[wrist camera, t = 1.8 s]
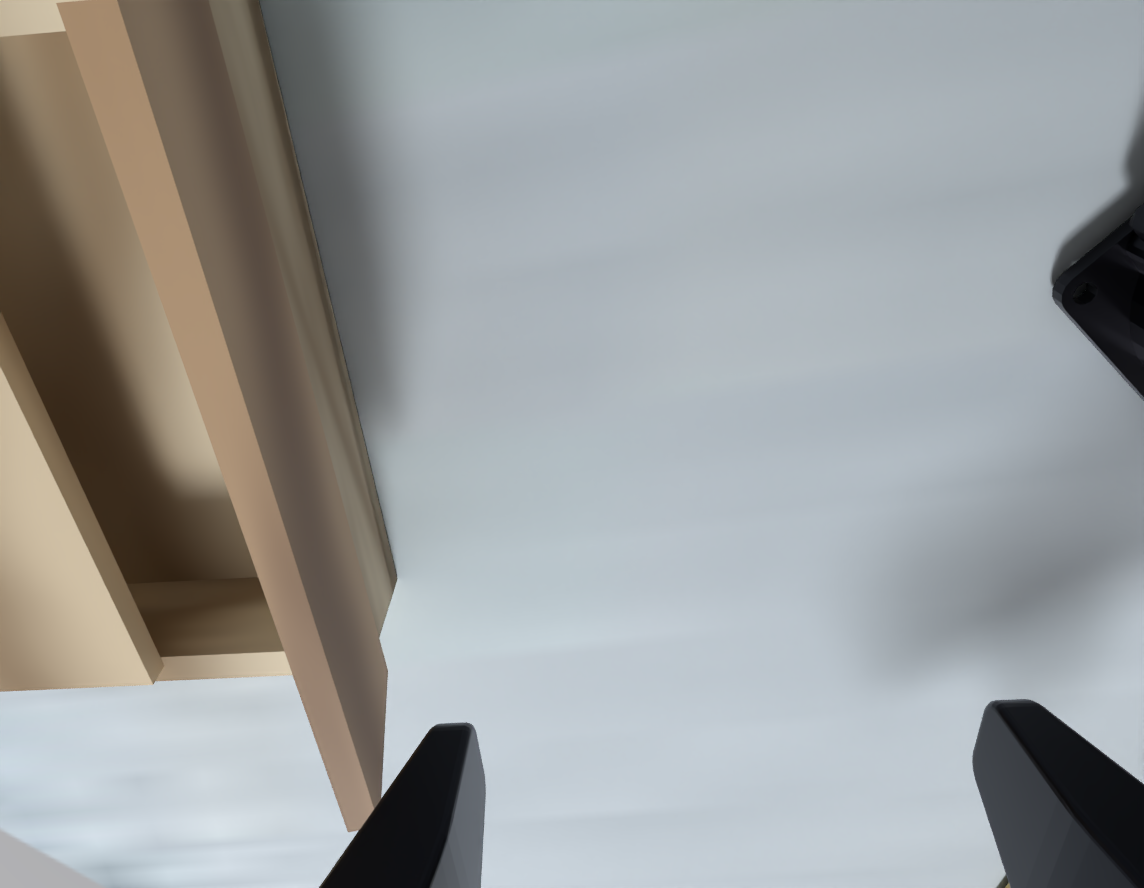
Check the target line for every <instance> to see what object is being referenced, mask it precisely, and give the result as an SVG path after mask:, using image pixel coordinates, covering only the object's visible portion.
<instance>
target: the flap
mask: <svg viewBox="0 0 1144 888" xmlns="http://www.w3.org/2000/svg"><path fill="white" fill-rule="evenodd" d="M56 4H57V7H58V10H59V13H60V16H61V18H62V21H63V24H64V27H65V30H66V33H67V35H68V38H69V41H70V44H71V47H72V50H73V53H74V55H75V58H76V61H77V64H78V67H79V70H80V72H81V75H82V78H83V81H84V84H85V87H86V89H87V92H88V95H89V98H90V101H91V104H92V106H93V109H94V112H95V115H96V118H97V121H98V123H99V126H100V129H101V132H102V135H103V138H104V141H105V143H106V146H107V149H108V152H109V155H110V158H111V160H112V163H113V166H114V169H115V172H116V175H117V177H118V180H119V183H120V186H121V189H122V192H123V194H124V197H125V200H126V203H127V206H128V209H129V212H130V214H131V217H132V220H133V223H134V226H135V229H136V231H137V234H138V237H139V240H140V243H141V246H142V248H143V251H144V254H145V257H146V260H147V263H148V265H149V268H150V271H151V274H152V277H153V280H154V282H155V285H156V288H157V291H158V294H159V297H160V300H161V302H162V305H163V308H164V311H165V314H166V317H167V319H168V322H169V325H170V328H171V331H172V334H173V336H174V339H175V342H176V345H177V348H178V351H179V353H180V356H181V359H182V362H183V365H184V368H185V371H186V373H187V376H188V379H189V382H190V385H191V388H192V390H193V393H194V396H195V399H196V402H197V405H198V407H199V410H200V413H201V416H202V419H203V422H204V424H205V427H206V430H207V433H208V436H209V439H210V441H211V444H212V447H213V450H214V453H215V456H216V459H217V461H218V464H219V467H220V470H221V473H222V476H223V478H224V481H225V484H226V487H227V490H228V493H229V495H230V498H231V501H232V504H233V507H234V510H235V512H236V515H237V518H238V521H239V524H240V527H241V530H242V532H243V535H244V538H245V541H246V544H247V547H248V549H249V552H250V555H251V558H252V561H253V564H254V566H255V569H256V572H257V575H258V578H259V581H260V583H261V586H262V589H263V592H264V595H265V598H266V600H267V603H268V606H269V609H270V612H271V615H272V618H273V620H274V623H275V626H276V629H277V632H278V635H279V637H280V640H281V643H282V646H283V649H284V652H285V654H286V657H287V660H288V663H289V666H290V669H291V671H292V674H293V677H294V680H295V683H296V686H297V688H298V691H299V694H300V697H301V700H302V703H303V706H304V708H305V711H306V714H307V717H308V720H309V723H310V725H311V728H312V731H313V734H314V737H315V740H316V742H317V745H318V748H319V751H320V754H321V757H322V759H323V762H324V765H325V768H326V771H327V774H328V777H329V779H330V782H331V785H332V788H333V791H334V794H335V796H336V799H337V802H338V805H339V808H340V811H341V813H342V816H343V819H344V822H345V825H346V828H347V830H348V832H352V831H357V830H360V829H361V827H362V826H363V824H364V823H365V821H366V820H367V819H368V817H369V816H370V814H371V813H372V811H373V810H374V809H375V807H376V806H377V804H378V803H379V801H380V800H381V790H382V771H383V752H384V733H385V714H386V696H387V677H388V670H387V666H386V662H385V658H384V655H383V651H382V647H381V643H380V640H379V636H378V632H377V628H376V625H375V621H374V617H373V614H372V610H371V606H370V602H369V599H368V595H367V591H366V587H365V584H364V580H363V576H362V572H361V569H360V565H359V561H358V557H357V554H356V550H355V546H354V542H353V539H352V535H351V531H350V527H349V524H348V520H347V516H346V513H345V509H344V505H343V501H342V498H341V494H340V490H339V486H338V483H337V479H336V475H335V471H334V468H333V464H332V460H331V456H330V453H329V449H328V445H327V441H326V438H325V434H324V430H323V426H322V423H321V419H320V415H319V412H318V408H317V404H316V400H315V397H314V393H313V389H312V385H311V382H310V378H309V374H308V370H307V367H306V363H305V359H304V355H303V352H302V348H301V344H300V340H299V337H298V333H297V329H296V326H295V322H294V318H293V314H292V311H291V307H290V303H289V299H288V296H287V292H286V288H285V284H284V281H283V277H282V273H281V269H280V266H279V262H278V258H277V254H276V251H275V247H274V243H273V239H272V236H271V232H270V228H269V225H268V221H267V217H266V213H265V210H264V206H263V202H262V198H261V195H260V191H259V187H258V183H257V180H256V176H255V172H254V168H253V165H252V161H251V157H250V153H249V150H248V146H247V142H246V138H245V135H244V131H243V127H242V124H241V120H240V116H239V112H238V109H237V105H236V101H235V97H234V94H233V90H232V86H231V82H230V79H229V75H228V71H227V67H226V64H225V60H224V56H223V52H222V49H221V45H220V41H219V37H218V34H217V30H216V26H215V23H214V19H213V15H212V11H211V8H210V4H209V0H84V1H72V2H61V3H56Z"/></svg>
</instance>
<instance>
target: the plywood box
mask: <svg viewBox="0 0 1144 888" xmlns="http://www.w3.org/2000/svg"><path fill="white" fill-rule="evenodd" d="M72 1H84V0H0V692H1V691H24V690H46V689H69V688H91V687H114V686H136V685H153V684H154V682H155V681H172V680H194V679H217V678H239V677H261V676H284V675H293V674H292V671H291V669H290V666H289V663H288V660H287V657H286V654H285V652H284V649H283V646H282V643H281V640H280V637H279V635H278V632H277V629H276V626H275V623H274V620H273V618H272V615H271V612H270V609H269V606H268V603H267V600H266V598H265V595H264V592H263V589H262V586H261V583H260V581H259V578H258V575H257V572H256V569H255V566H254V564H253V561H252V558H251V555H250V552H249V549H248V547H247V544H246V541H245V538H244V535H243V532H242V530H241V527H240V524H239V521H238V518H237V515H236V512H235V510H234V507H233V504H232V501H231V498H230V495H229V493H228V490H227V487H226V484H225V481H224V478H223V476H222V473H221V470H220V467H219V464H218V461H217V459H216V456H215V453H214V450H213V447H212V444H211V441H210V439H209V436H208V433H207V430H206V427H205V424H204V422H203V419H202V416H201V413H200V410H199V407H198V405H197V402H196V399H195V396H194V393H193V390H192V388H191V385H190V382H189V379H188V376H187V373H186V371H185V368H184V365H183V362H182V359H181V356H180V353H179V351H178V348H177V345H176V342H175V339H174V336H173V334H172V331H171V328H170V325H169V322H168V319H167V317H166V314H165V311H164V308H163V305H162V302H161V300H160V297H159V294H158V291H157V288H156V285H155V282H154V280H153V277H152V274H151V271H150V268H149V265H148V263H147V260H146V257H145V254H144V251H143V248H142V246H141V243H140V240H139V237H138V234H137V231H136V229H135V226H134V223H133V220H132V217H131V214H130V212H129V209H128V206H127V203H126V200H125V197H124V194H123V192H122V189H121V186H120V183H119V180H118V177H117V175H116V172H115V169H114V166H113V163H112V160H111V158H110V155H109V152H108V149H107V146H106V143H105V141H104V138H103V135H102V132H101V129H100V126H99V123H98V121H97V118H96V115H95V112H94V109H93V106H92V104H91V101H90V98H89V95H88V92H87V89H86V87H85V84H84V81H83V78H82V75H81V72H80V70H79V67H78V64H77V61H76V58H75V55H74V53H73V50H72V47H71V44H70V41H69V38H68V35H67V33H66V30H65V27H64V24H63V21H62V18H61V16H60V13H59V10H58V7H57V4H56V3H61V2H72ZM209 4H210V8H211V11H212V15H213V19H214V23H215V26H216V30H217V34H218V37H219V41H220V45H221V49H222V52H223V56H224V60H225V64H226V67H227V71H228V75H229V79H230V82H231V86H232V90H233V94H234V97H235V101H236V105H237V109H238V112H239V116H240V120H241V124H242V127H243V131H244V135H245V138H246V142H247V146H248V150H249V153H250V157H251V161H252V165H253V168H254V172H255V176H256V180H257V183H258V187H259V191H260V195H261V198H262V202H263V206H264V210H265V213H266V217H267V221H268V225H269V228H270V232H271V236H272V239H273V243H274V247H275V251H276V254H277V258H278V262H279V266H280V269H281V273H282V277H283V281H284V284H285V288H286V292H287V296H288V299H289V303H290V307H291V311H292V314H293V318H294V322H295V326H296V329H297V333H298V337H299V340H300V344H301V348H302V352H303V355H304V359H305V363H306V367H307V370H308V374H309V378H310V382H311V385H312V389H313V393H314V397H315V400H316V404H317V408H318V412H319V415H320V419H321V423H322V426H323V430H324V434H325V438H326V441H327V445H328V449H329V453H330V456H331V460H332V464H333V468H334V471H335V475H336V479H337V483H338V486H339V490H340V494H341V498H342V501H343V505H344V509H345V513H346V516H347V520H348V524H349V527H350V531H351V535H352V539H353V542H354V546H355V550H356V554H357V557H358V561H359V565H360V569H361V572H362V576H363V580H364V584H365V587H366V591H367V595H368V599H369V602H370V606H371V610H372V614H373V617H374V621H375V625H376V628H377V632H378V636H379V637H380V633H381V630H382V627H383V624H384V620H385V617H386V614H387V611H388V608H389V604H390V601H391V598H392V595H393V592H394V588H395V585H396V582H397V575H396V571H395V567H394V563H393V559H392V554H391V550H390V546H389V542H388V538H387V534H386V529H385V525H384V521H383V517H382V513H381V509H380V504H379V500H378V496H377V492H376V488H375V484H374V479H373V475H372V471H371V467H370V463H369V458H368V454H367V450H366V446H365V442H364V438H363V433H362V429H361V425H360V421H359V417H358V413H357V408H356V404H355V400H354V396H353V392H352V388H351V383H350V379H349V375H348V371H347V367H346V362H345V358H344V354H343V350H342V346H341V342H340V337H339V333H338V329H337V325H336V321H335V317H334V312H333V308H332V304H331V300H330V296H329V292H328V287H327V283H326V279H325V275H324V271H323V266H322V262H321V258H320V254H319V250H318V246H317V241H316V237H315V233H314V229H313V225H312V221H311V216H310V212H309V208H308V204H307V200H306V196H305V191H304V187H303V183H302V179H301V175H300V171H299V166H298V162H297V158H296V154H295V150H294V145H293V141H292V137H291V133H290V129H289V125H288V120H287V116H286V112H285V108H284V104H283V100H282V95H281V91H280V87H279V83H278V79H277V75H276V70H275V66H274V62H273V58H272V54H271V49H270V45H269V41H268V37H267V33H266V29H265V24H264V20H263V16H262V12H261V8H260V4H259V0H209Z"/></svg>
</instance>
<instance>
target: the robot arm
mask: <svg viewBox="0 0 1144 888" xmlns="http://www.w3.org/2000/svg"><path fill="white" fill-rule="evenodd" d="M1083 283H1088V285H1087V289H1086V291H1085V292H1084V293H1083V294H1082V295H1080V296H1079V297H1077V298H1073V294H1074V291H1075V290H1076V289H1077V287H1078V286H1080V285H1082V284H1083ZM1052 297H1053V299H1054V301H1055V303H1056V304H1057V305H1058V307H1059V308H1060V309H1061V310H1062V311H1063V312H1064V313H1065V314H1066V315H1067V317H1068V318H1069V319H1070V320H1071V321H1072V322H1073V323H1074V324H1075V325H1076V326H1077V328H1078V329H1079V330H1080V331H1081V332H1082V333H1083V334H1084V335H1085V336H1086V338H1087V339H1088V340H1089V341H1090V342H1091V343H1092V344H1093V345H1094V346H1095V348H1096V349H1097V350H1098V351H1099V352H1100V353H1101V354H1102V355H1103V356H1104V357H1105V359H1106V360H1107V361H1108V362H1109V363H1110V364H1111V365H1112V366H1113V367H1114V369H1115V370H1116V371H1117V372H1118V373H1119V374H1120V375H1121V376H1122V377H1123V378H1124V380H1125V381H1126V382H1127V383H1128V384H1129V385H1130V386H1131V387H1132V388H1133V390H1134V391H1135V392H1136V393H1137V394H1138V395H1139V396H1140V397H1141V398H1142V399H1143V401H1144V204H1142V205H1141V206H1140V207H1139V208H1138V209H1136V211H1135V212H1134V214H1133V216H1132V217H1131V218H1130V219H1128V220H1127V221H1126V222H1125V223H1123V224H1122V225H1121V226H1120V227H1119V228H1117V229H1116V230H1115V231H1114V232H1113V233H1111V234H1110V235H1109V236H1108V237H1106V238H1105V239H1104V240H1103V241H1102V242H1100V243H1099V244H1098V245H1097V246H1095V247H1094V248H1093V249H1092V250H1091V251H1089V252H1088V253H1087V254H1086V255H1085V256H1083V257H1082V258H1081V259H1080V260H1078V261H1077V262H1076V263H1075V264H1074V265H1072V266H1071V267H1070V268H1069V269H1068V270H1066V271H1065V272H1064V273H1063V274H1062V275H1061V276H1060V277H1059V278H1058V279H1057V280H1056V282H1055V285H1054V287H1053V293H1052ZM972 763H973V771H974V776H975V780H976V783H977V786H978V789H979V792H980V795H981V799H982V802H983V805H984V808H985V811H986V814H987V817H988V820H989V823H990V826H991V829H992V832H993V835H994V838H995V842H996V845H997V848H998V851H999V854H1000V857H1001V860H1002V863H1003V866H1004V869H1005V872H1006V875H1007V878H1008V882H1009V885H1010V888H1144V784H1143V783H1142V782H1140V781H1139V780H1138V779H1136V778H1135V777H1134V776H1133V775H1131V774H1130V773H1129V772H1127V771H1126V770H1125V769H1123V768H1122V767H1121V766H1120V765H1118V764H1117V763H1116V762H1114V761H1113V760H1112V759H1110V758H1109V757H1108V756H1107V755H1105V754H1104V753H1103V752H1101V751H1100V750H1099V749H1097V748H1096V747H1095V746H1094V745H1092V744H1091V743H1090V742H1088V741H1087V740H1086V739H1084V738H1083V737H1082V736H1081V735H1079V734H1078V733H1077V732H1075V731H1074V730H1073V729H1072V728H1070V727H1069V726H1068V725H1066V724H1065V723H1064V722H1062V721H1061V720H1060V719H1059V718H1057V717H1056V716H1055V715H1053V714H1052V713H1051V712H1049V711H1048V710H1047V709H1046V708H1044V707H1043V706H1041V705H1040V704H1038V703H1036V702H1034V701H1032V700H1027V699H1017V700H995V701H991V702H990V703H989V704H988V705H987V706H986V708H985V710H984V714H983V717H982V721H981V725H980V729H979V732H978V736H977V740H976V744H975V747H974V751H973V761H972ZM485 795H486V788H485V774H484V769H483V764H482V759H481V754H480V749H479V744H478V739H477V734H476V730H475V728H474V727H473V725H472V724H470V723H445V724H437V725H435V726H434V727H432V728H431V729H430V730H429V732H428V733H427V734H426V736H425V737H424V739H423V740H422V741H421V743H420V744H419V746H418V747H417V749H416V750H415V751H414V753H413V754H412V756H411V757H410V759H409V760H408V761H407V763H406V764H405V766H404V767H403V769H402V770H401V771H400V773H399V774H398V776H397V777H396V779H395V780H394V781H393V783H392V784H391V786H390V787H389V789H388V790H387V791H386V793H385V794H384V796H383V797H382V799H381V800H380V801H379V803H378V804H377V806H376V807H375V809H374V810H373V811H372V813H371V814H370V816H369V817H368V819H367V820H366V821H365V823H364V824H363V826H362V827H361V829H360V830H359V831H358V833H357V834H356V836H355V837H354V839H353V840H352V841H351V843H350V844H349V846H348V847H347V849H346V850H345V851H344V853H343V854H342V856H341V857H340V858H339V860H338V861H337V863H336V864H335V866H334V867H333V868H332V870H331V871H330V873H329V874H328V876H327V877H326V878H325V880H324V881H323V883H322V884H321V886H320V887H319V888H481V871H482V852H483V834H484V815H485Z"/></svg>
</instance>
